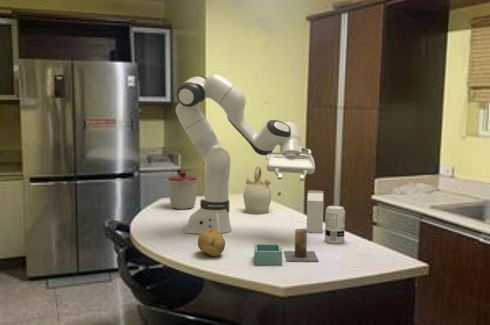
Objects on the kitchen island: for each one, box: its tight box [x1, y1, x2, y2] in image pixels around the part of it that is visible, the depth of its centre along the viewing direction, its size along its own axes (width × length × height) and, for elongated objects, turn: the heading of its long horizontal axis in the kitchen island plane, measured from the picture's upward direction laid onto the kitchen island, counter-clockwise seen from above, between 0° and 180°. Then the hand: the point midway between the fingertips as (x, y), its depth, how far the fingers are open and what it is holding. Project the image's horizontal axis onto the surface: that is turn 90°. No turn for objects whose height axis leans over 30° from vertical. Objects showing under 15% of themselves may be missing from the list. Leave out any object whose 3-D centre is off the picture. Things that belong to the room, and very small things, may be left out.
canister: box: [166, 170, 200, 210], centre depth 275 cm, size 18×18×21 cm
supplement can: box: [324, 205, 346, 245], centre depth 208 cm, size 8×8×15 cm
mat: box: [283, 250, 319, 263], centre depth 187 cm, size 12×12×1 cm
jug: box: [242, 166, 272, 215], centre depth 265 cm, size 15×16×25 cm
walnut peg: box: [294, 228, 308, 257], centre depth 187 cm, size 4×4×10 cm
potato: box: [197, 229, 226, 257], centre depth 189 cm, size 10×12×10 cm
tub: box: [253, 243, 283, 266], centre depth 182 cm, size 10×10×5 cm
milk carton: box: [306, 190, 324, 234], centre depth 226 cm, size 7×7×19 cm
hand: (290, 179), depth 201 cm, fingers open, 8 cm apart
